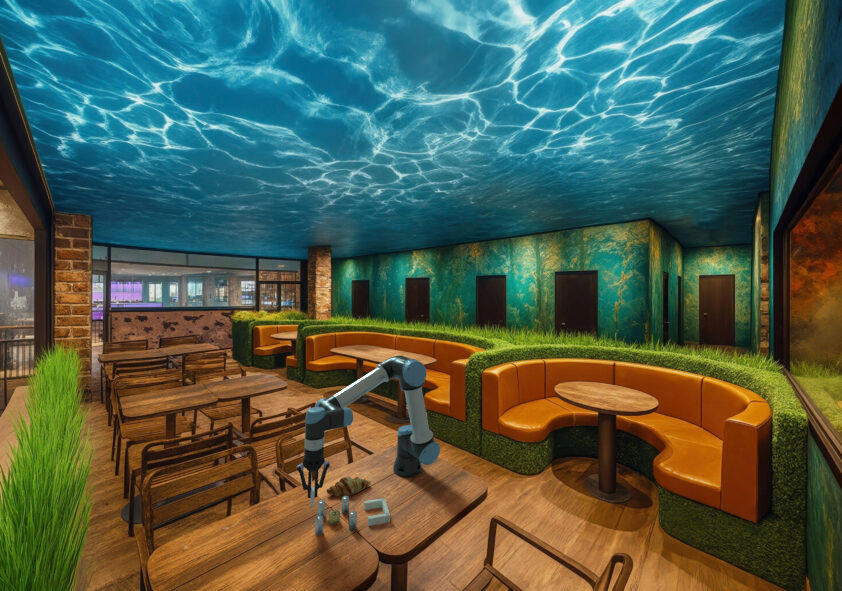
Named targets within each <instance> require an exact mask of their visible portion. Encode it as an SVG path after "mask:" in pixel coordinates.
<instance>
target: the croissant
mask: <svg viewBox="0 0 842 591" xmlns="http://www.w3.org/2000/svg"><path fill="white" fill-rule="evenodd" d="M371 482H372V481H370V480H368V479H366V478H364V479H362V478H360V477H358V476H356V477H354V478H353V477H352V476H344V477H342V478H340V480H339V481H336V482H335V484H334V485H331V486H330V487H329V488H327V489H326V493H327V494H328V495H332V496H335V497H343V496H352V495H355V494H357V493H359V492H361V491H363V490H364V489H367V488H368V487H369V486H370V485H371Z"/></svg>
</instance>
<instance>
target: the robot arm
mask: <svg viewBox="0 0 842 591" xmlns="http://www.w3.org/2000/svg"><path fill="white" fill-rule="evenodd" d="M427 375H428V374H427V368H426V366H425V365H424V364H423V362H421V361H420V360H418V359H415V358H410V357H407V356H404V355H395V356H391V357H389V358H387V359H385V360H384V361H381V362H380V363H379V364H377V365H376V367H375V369H373V370H371V371H370V372H368V373H366V374H365V375H363V376H362V377H361V378H359V379H357V380H355V381H353V383H350V384H349V385H347V386H345V387H344V388H343V389H342V390H339V391H338V392H336V393H335V394H334V395H332V396H329V398H321V399H319V400H318V401H316V404H315V406H314V407H310V408H308V409H307V410H306V413H305V421H304V422H305V424H304V425H305V426H304V427H305V428H304V450H303V451H304V452H303V456H304V457H303V460H302V463H300V464H297V465H296V470H297V472H298V473H299V476H300V481H301V486H302V489H303V490H304V491H307V499H310V503H309V506H310V508H314V507H315V498H318V491H319V489H323V487H324V482H325V478H326V474H327V471H328V469H329V468H330V467H331V464H330V463H331V462H330V461H327V460H325V459H326V458H325V457H324V454H325V451H324V450H325V447H324V446H325V432H327V431H331V430H332V431H333V430H337V429H341V428H345V427H349V426H352V424H353V422H354V412H353V410H352V409H351V408H350V407H349V405H351V404H352V403H354V402H355V401H357V400H358V399H360V398H361V397H362V396H364V395H366V394H367V393H368V392H370V391H372V390H374V389H375V388H376V387H378V386H379V385H381V384H382V383H384V382H386V383H388V382H389V381H391V380H394V379H396V380H398V382H399V386H400V390H401V391H403V392H404V395H405V402H406V407H407V413H408V417H409V423H410V424H408V425H402V426H401V427H398V429H397V434H396V436H397V443H396V444H397V445H396V448H397V449H396V452H397V453H396V458H395V459H394V462H393V469H392V470H393V472H394V474H396V475H397V476H399V477H404V478H412V477H413V478H414V477H416V476H419V475H420V474H421V473H422V471H421V470H422V468H423V466H422V465H425V466H430V465H432V464H434V463H435V462H436V461H437V459H438V457H439V456H440V452H441V446H440V444H439V443H438V442H437V441H435V438H434V433H433V431H432V430H430V426H429V421H428V416H427V410H426V404H425V399H424V394H423V386H425V381H426V379H427ZM322 466H323V467H322ZM304 468H305V469H306V470H307V471H308V474H307V482H306V477H305V473H304ZM321 468H323V469H322V471H321V476H320V479H319V470H320V469H321ZM313 471H314V486H312V472H313Z"/></svg>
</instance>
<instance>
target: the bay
mask: <svg viewBox="0 0 842 591" xmlns="http://www.w3.org/2000/svg"><path fill="white" fill-rule="evenodd" d="M363 503H364V504H363V508H364V510H365V511H366V510H373V509H378V508H380V509H382V513H380V514H375V515H368V516H367V526H368V527H369V526H371V527H372V526H377V525H383V524H388V523H390V522H391V514H390V511H389V507H388V505H387V501H386V498H385V497H384V498H383V497H382V498H376V499H371V500H370V499H369V500H364V502H363Z"/></svg>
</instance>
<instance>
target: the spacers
mask: <svg viewBox="0 0 842 591" xmlns="http://www.w3.org/2000/svg"><path fill="white" fill-rule="evenodd" d="M349 496H350V495H348V496H341V513H342V514H344V515H347V514H348V515H349V516H348V530H349V531H355V530H356V529H357V522H358V520H357V518H358V517H357V516H358V513H357V511H355V510H352V511H350V497H349ZM325 517H326V500H324V499H320V500H318V502H317V515H316V517H315V523H314V526H315V530H314V534H315V536H317V537H318V536H320V537H321V536H322V535H323V533H324V518H325Z"/></svg>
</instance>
